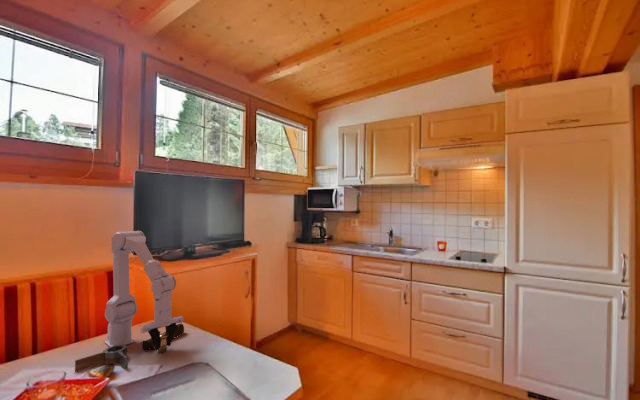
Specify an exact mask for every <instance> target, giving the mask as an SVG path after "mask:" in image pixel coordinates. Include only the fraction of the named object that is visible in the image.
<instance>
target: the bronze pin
mask: <svg viewBox="0 0 640 400" xmlns="http://www.w3.org/2000/svg"><path fill="white" fill-rule="evenodd" d="M167 337H168V333H164V332H162V333H161V332H160V336H159V350H157V354H159V355H160V354H165V353H167V351H168V346H167Z"/></svg>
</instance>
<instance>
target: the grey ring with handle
mask: <svg viewBox="0 0 640 400" xmlns="http://www.w3.org/2000/svg"><path fill="white" fill-rule="evenodd" d="M104 351H105V354H104V358H115V357H117V362H116V363H117V364H118V365H119V366H120V367H121V368H123V369H124V370H127V369H128V368H129V357H128V356H126V355H124V354H125V353H126V352H127V353H128V346H127V345H115V346H111V347H109V346H108V347H106V348H105V349H103V350H102V352H104Z"/></svg>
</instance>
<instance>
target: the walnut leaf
mask: <svg viewBox="0 0 640 400" xmlns="http://www.w3.org/2000/svg"><path fill="white" fill-rule="evenodd" d="M103 351H104V350H103ZM103 351H101V352H98V353H94V354H92V355H88V356H85V357H81V358H78V359H75V361H74V372H75V373H77V372H80V371H83V370H86V369H89V368H92V367H97V366H99V365H102V364H105V365H106V364H107V363H109V364H115V363H117V357H115V358H104V354H105V351H104V352H103ZM124 355H126V356H127V355H128V351H127V352H126V353H125V354H124ZM127 357H128V356H127ZM79 370H80V371H79ZM76 371H77V372H76Z"/></svg>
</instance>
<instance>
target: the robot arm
mask: <svg viewBox="0 0 640 400" xmlns="http://www.w3.org/2000/svg"><path fill="white" fill-rule="evenodd" d="M110 241H111V253H112V271H113V273H112V279H113V296H112V297H111V298H110V299H108V300H107V302H106V303H105V305H106V307H105V310H104V318H105V321H107V322H108V324H107V337H106V338H107V340H104V342H103V343H105V345H107V346H108V347H111V346H115V345H125V346H127V345H130V344H134V343H135V342H136V340H135V339H133V338H132V331H133V330H132V325H133V318H134V317H135V315H136V313H137V312H138V305H137V302H136V297H135V296H134V295H133V294H131V293H130V264H129V263H130V259H129V256H130V254H131V253H132V252H134V253H135V254H136V256H137V257H138V258H139V260H140V261H142V263H143V265H144V266H143V271H144V272H145V274H146V276H147V277H148V279H149V281H150V282H151V283H152V284H151V285H150V288H151V292H152V294H153V296H152V297H153V299H154V313H153V314H154V316H153V317H154V318H153V321H152V322H151V323H147V324H145V325H141V326H140V329H139V330H140V333H141V334H145V333H146V332H148V333H147V334H149V336H150V338H152V341H153V344H154V347H153V350H156V351H158V350H159V336H160V334H161V331H159V329H162V328H164V327H165V332H166V333H168V337H167V347H171V344H172V340H173V339H174V338H173V335H174V333H175V331H176V329H177V325H178V324H183V323H184V316H182V315H180V316H176V317H175V316H174V317H172V315H173V313H172V312H173V290H174V289H176V285H177V281H176V279H175V277H174V275H172V274H170V273H168V272H167V271H166V270H165V268H164V267H163V265H162V263H161V262H160V261H159V260H156V259H154V258H153V255H152V253H151V252H150V249H149V248H148V246H147V244H146V242H147V237H146V236H145V234H144V232H143V231H141V230H134V231H116V232H115V233H114V234H113V235H112V237H111V239H110Z"/></svg>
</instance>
